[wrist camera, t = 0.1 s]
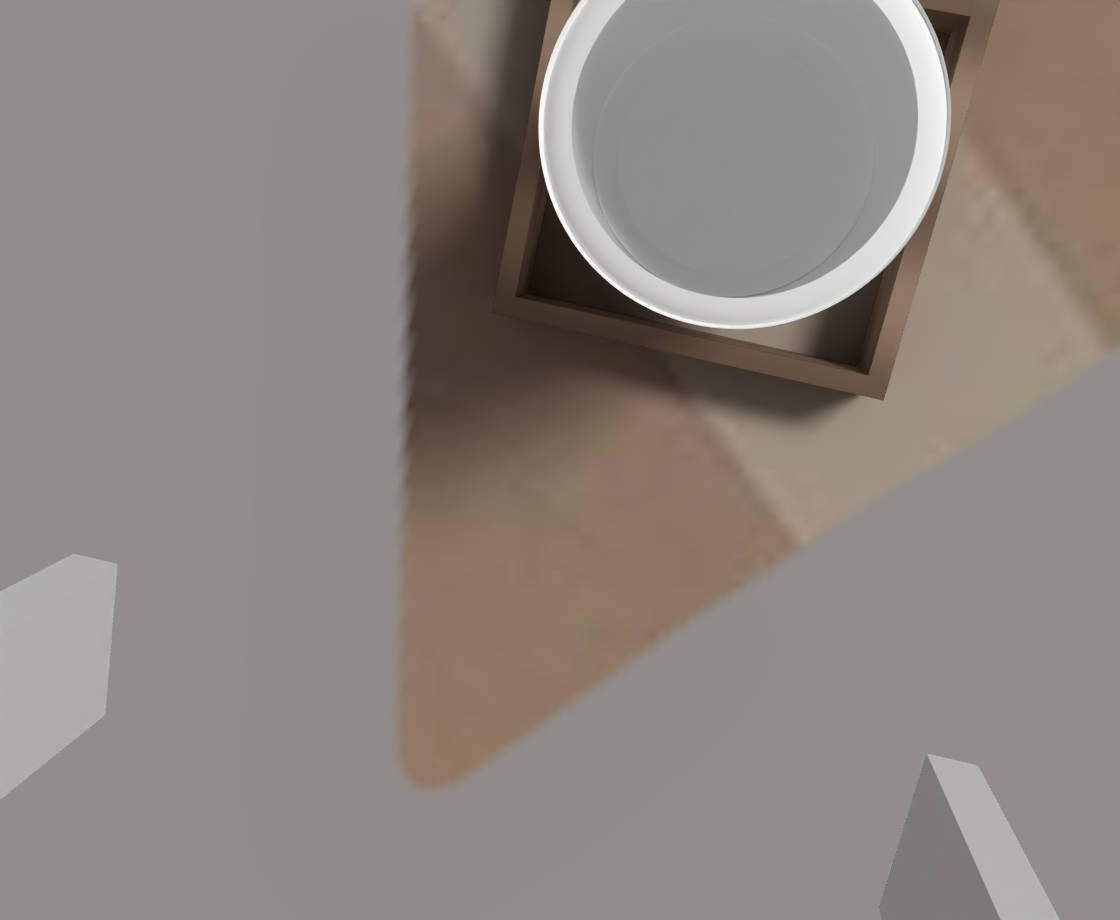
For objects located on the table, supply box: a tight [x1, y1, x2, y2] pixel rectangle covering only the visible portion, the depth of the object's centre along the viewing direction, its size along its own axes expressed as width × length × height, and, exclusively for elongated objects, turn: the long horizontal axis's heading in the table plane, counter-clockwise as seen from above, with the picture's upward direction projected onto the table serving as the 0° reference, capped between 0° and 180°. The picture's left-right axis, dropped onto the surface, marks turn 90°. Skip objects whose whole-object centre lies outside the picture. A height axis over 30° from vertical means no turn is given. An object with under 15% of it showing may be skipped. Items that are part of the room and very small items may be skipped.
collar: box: [492, 0, 1000, 400], centre depth 38 cm, size 15×16×3 cm
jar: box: [539, 0, 951, 329], centre depth 33 cm, size 11×10×15 cm
